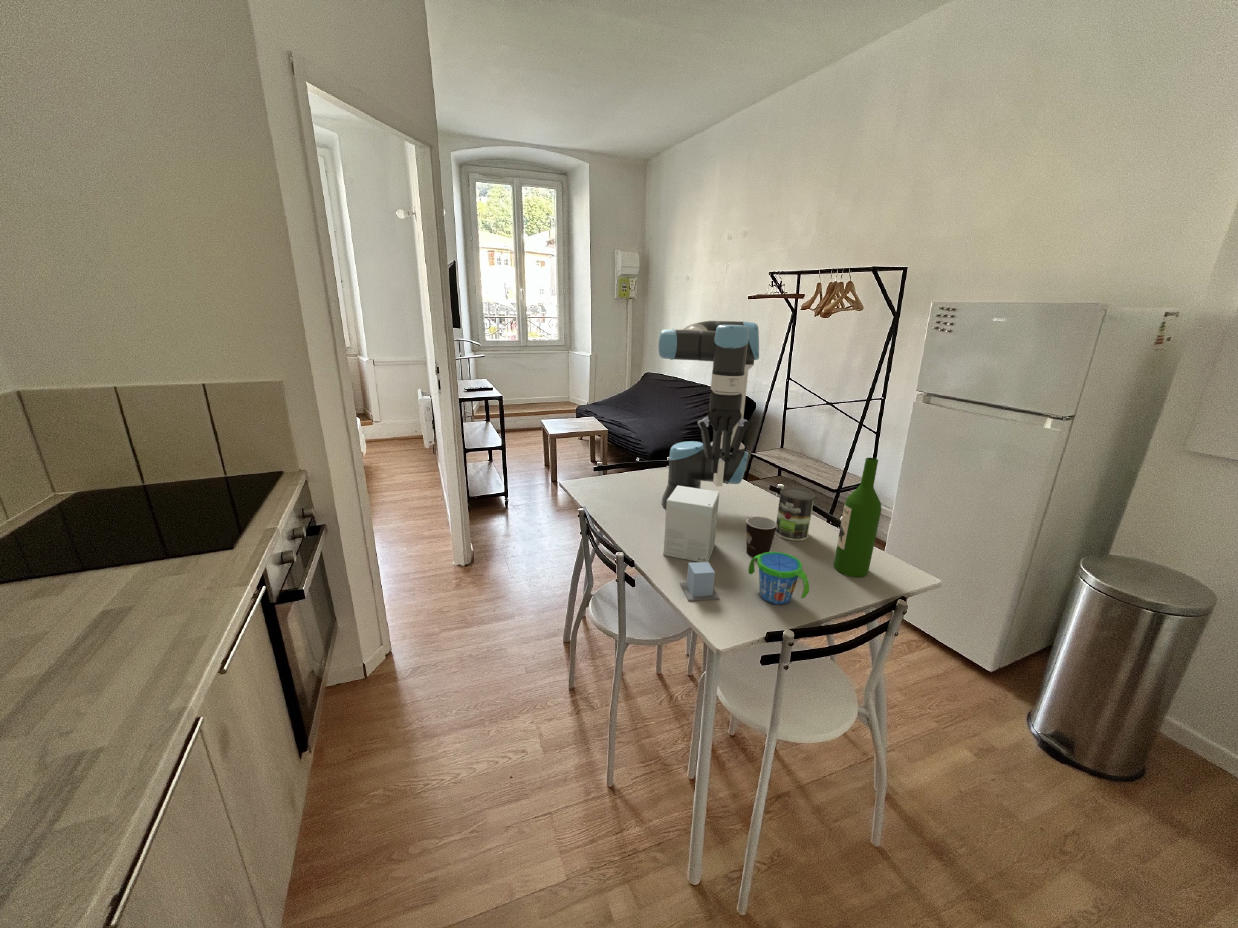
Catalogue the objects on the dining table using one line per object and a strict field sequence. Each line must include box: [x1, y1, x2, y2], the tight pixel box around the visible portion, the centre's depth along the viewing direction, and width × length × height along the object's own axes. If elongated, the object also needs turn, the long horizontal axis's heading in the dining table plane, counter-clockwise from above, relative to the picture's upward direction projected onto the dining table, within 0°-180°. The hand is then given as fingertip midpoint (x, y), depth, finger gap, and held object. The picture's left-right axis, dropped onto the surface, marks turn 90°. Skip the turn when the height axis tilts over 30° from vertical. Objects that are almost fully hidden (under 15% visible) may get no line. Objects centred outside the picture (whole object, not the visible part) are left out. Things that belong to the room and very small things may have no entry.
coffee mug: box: [745, 515, 777, 558], centre depth 145 cm, size 12×9×10 cm
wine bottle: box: [833, 457, 882, 578], centre depth 133 cm, size 9×9×32 cm
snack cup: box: [747, 551, 810, 605], centre depth 122 cm, size 16×10×10 cm
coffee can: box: [775, 487, 816, 542], centre depth 157 cm, size 10×10×14 cm
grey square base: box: [679, 581, 720, 602], centre depth 125 cm, size 8×8×5 cm
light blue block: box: [686, 561, 716, 597], centre depth 124 cm, size 5×5×7 cm
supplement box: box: [662, 485, 720, 562], centre depth 144 cm, size 13×13×18 cm
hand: (717, 484), depth 125 cm, fingers closed
